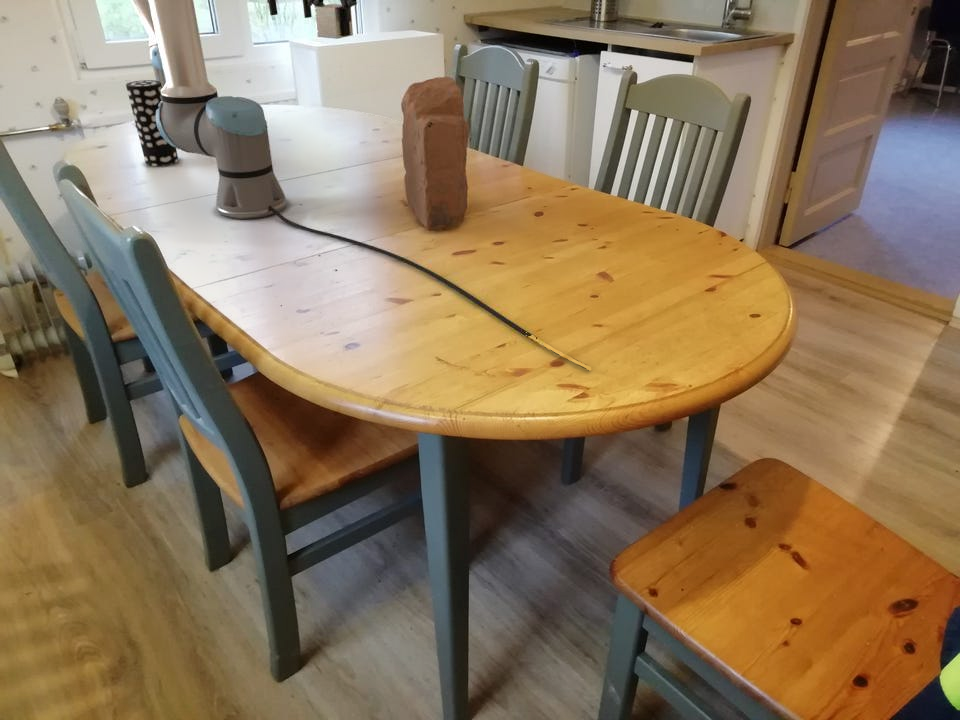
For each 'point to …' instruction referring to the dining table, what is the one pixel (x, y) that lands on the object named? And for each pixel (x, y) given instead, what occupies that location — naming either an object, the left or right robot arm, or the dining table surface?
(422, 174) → the stone
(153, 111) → the black white spotted cylinder
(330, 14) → the metallic grey cube
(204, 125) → the right robot arm
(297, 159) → the dining table surface
